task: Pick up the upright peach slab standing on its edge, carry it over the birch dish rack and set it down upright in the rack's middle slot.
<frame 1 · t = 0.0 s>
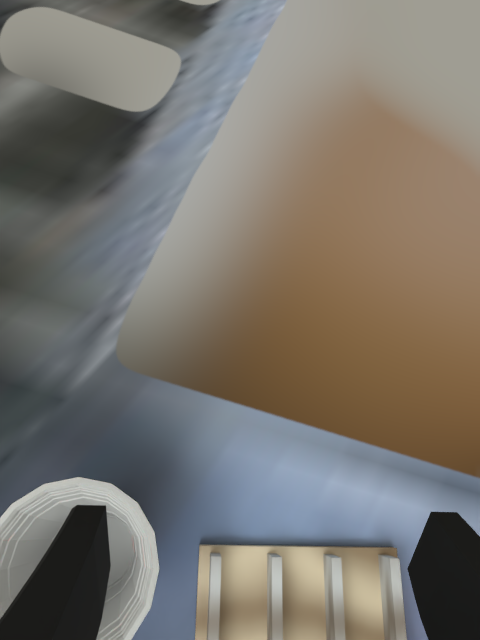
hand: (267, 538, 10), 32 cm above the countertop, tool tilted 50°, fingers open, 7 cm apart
dish rack: (298, 619, 38), on the countertop
plastic cup: (104, 549, 38), on the countertop
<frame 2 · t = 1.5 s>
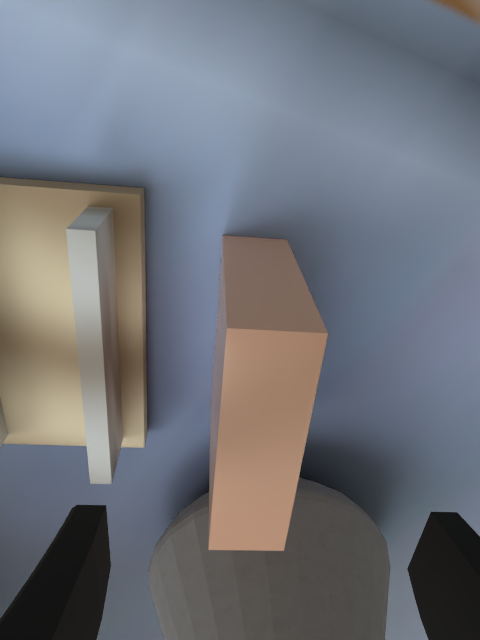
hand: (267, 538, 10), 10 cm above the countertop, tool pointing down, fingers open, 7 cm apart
coffee pot: (351, 525, 25), on the countertop
upright peach slab: (245, 331, 19), on the countertop
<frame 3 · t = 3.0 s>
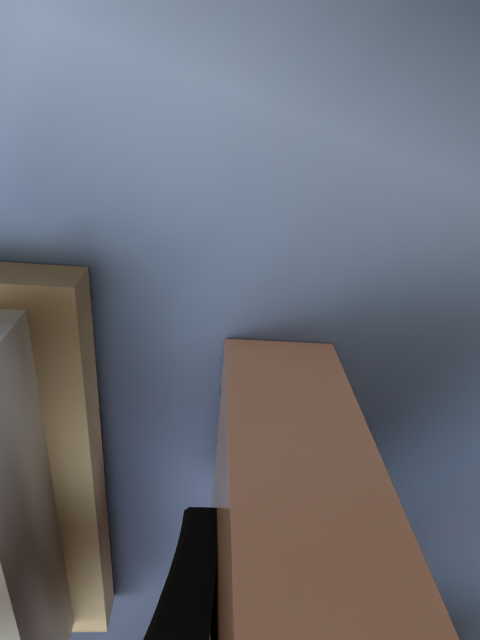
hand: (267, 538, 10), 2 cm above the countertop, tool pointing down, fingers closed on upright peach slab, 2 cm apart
upright peach slab: (260, 472, 12), on the countertop, touching gripper
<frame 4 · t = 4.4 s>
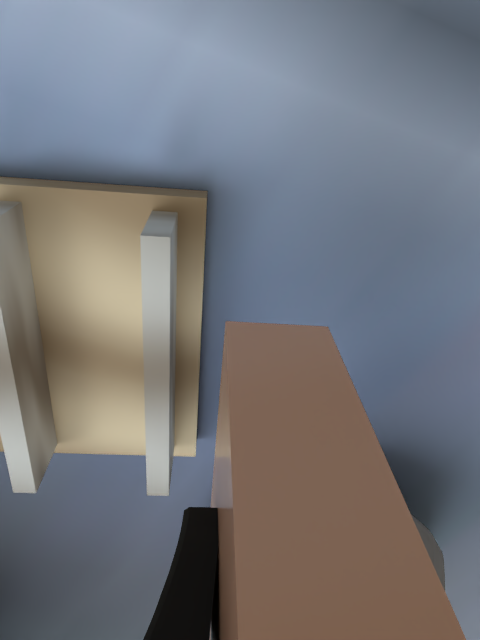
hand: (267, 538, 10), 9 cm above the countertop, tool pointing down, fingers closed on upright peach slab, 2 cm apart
coffee pot: (398, 533, 24), on the countertop
upright peach slab: (258, 451, 12), point 6 cm above the countertop, touching gripper
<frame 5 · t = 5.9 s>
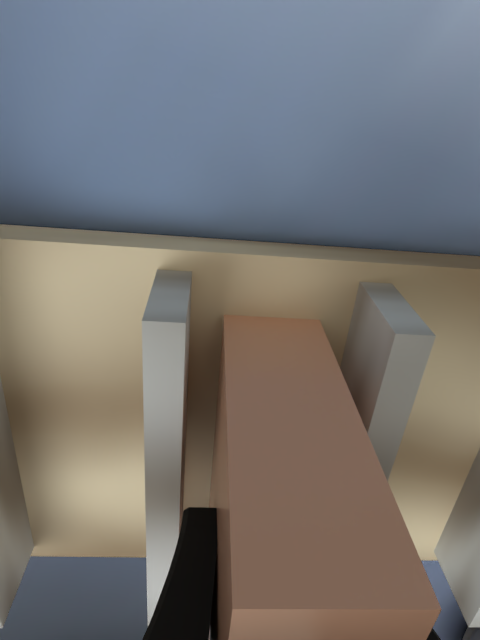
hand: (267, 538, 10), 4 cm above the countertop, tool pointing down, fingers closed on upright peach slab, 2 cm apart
upright peach slab: (255, 439, 13), point 1 cm above the countertop, touching dish rack, gripper
dish rack: (253, 414, 14), on the countertop
when the fingers open (4 cm above the countertop, at t = 6.1 s): upright peach slab stays where it is, resting on dish rack.
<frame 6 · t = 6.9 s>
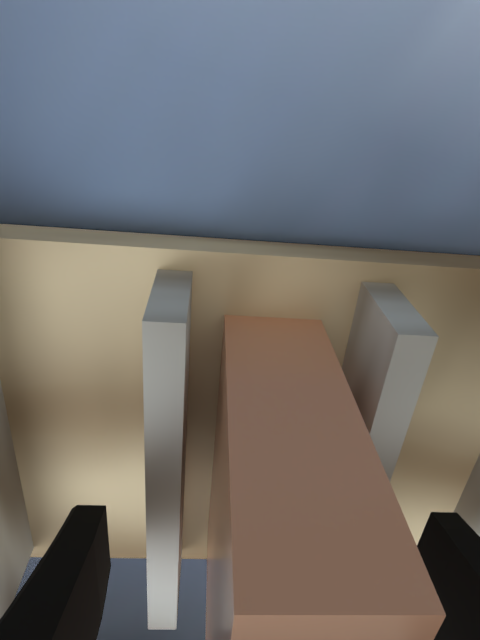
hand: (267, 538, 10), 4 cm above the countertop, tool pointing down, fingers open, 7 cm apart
upright peach slab: (256, 440, 13), point 1 cm above the countertop, touching dish rack
dish rack: (254, 414, 14), on the countertop
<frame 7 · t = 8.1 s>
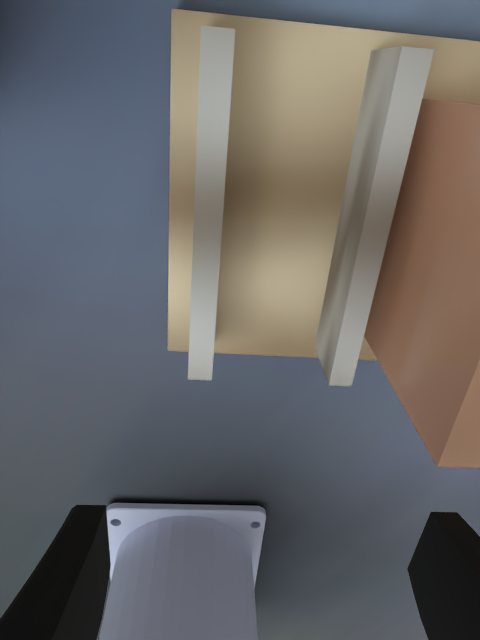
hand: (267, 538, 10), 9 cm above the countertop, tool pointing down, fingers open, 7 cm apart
upright peach slab: (417, 229, 16), point 1 cm above the countertop, touching dish rack
dish rack: (407, 218, 17), on the countertop
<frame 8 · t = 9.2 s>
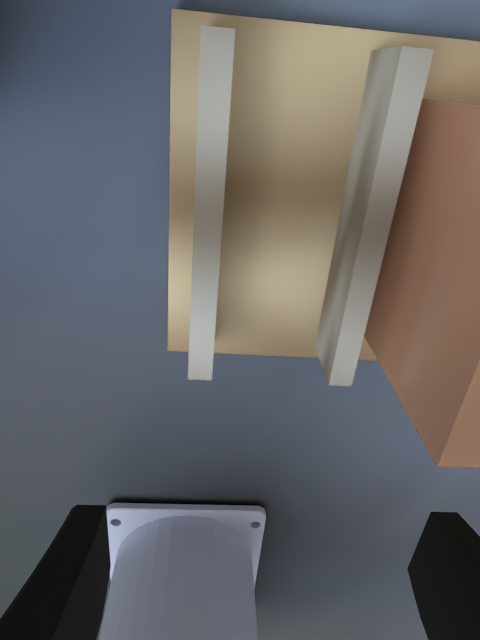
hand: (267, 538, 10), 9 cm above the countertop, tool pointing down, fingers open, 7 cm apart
upright peach slab: (417, 229, 16), point 1 cm above the countertop, touching dish rack
dish rack: (407, 218, 17), on the countertop
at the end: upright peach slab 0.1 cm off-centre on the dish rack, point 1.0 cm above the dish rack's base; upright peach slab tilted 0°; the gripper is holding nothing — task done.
